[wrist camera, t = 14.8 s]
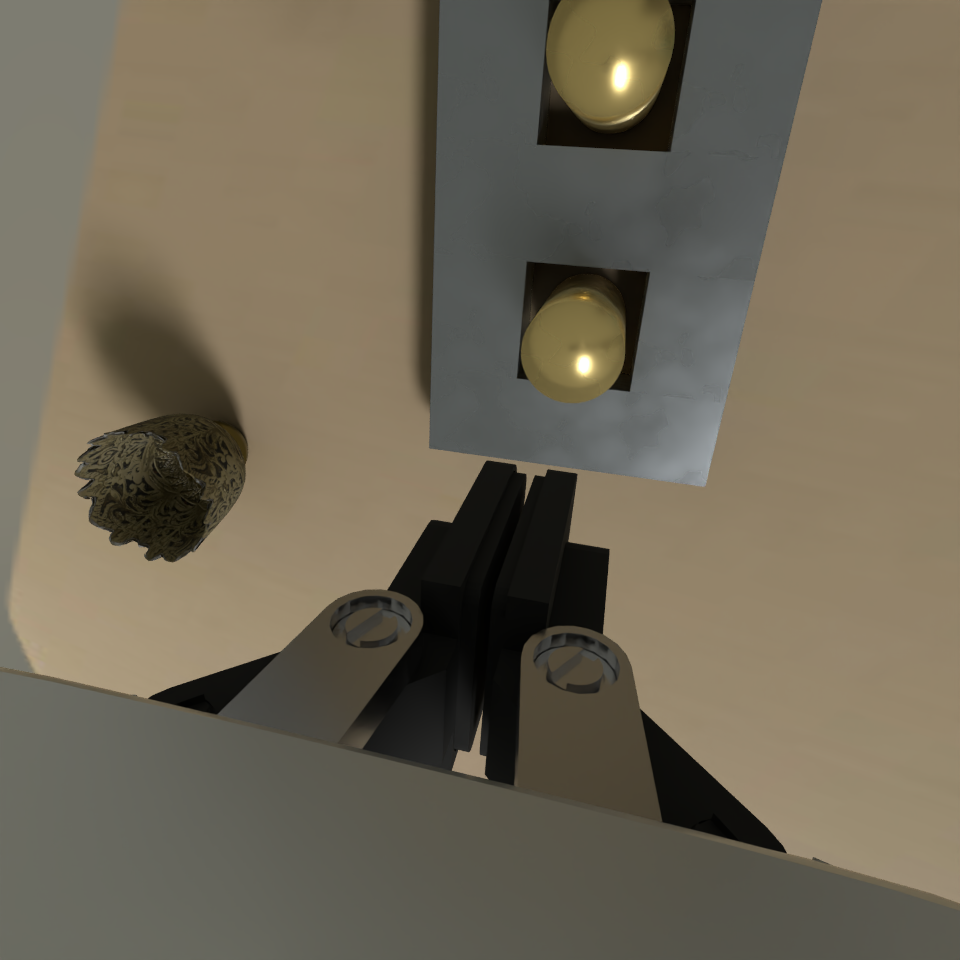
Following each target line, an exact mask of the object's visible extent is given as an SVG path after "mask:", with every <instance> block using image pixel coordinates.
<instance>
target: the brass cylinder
mask: <svg viewBox="0 0 960 960" xmlns="http://www.w3.org/2000/svg"><path fill="white" fill-rule="evenodd" d="M625 330H626V308H625V303H624V300H623V297H622V295H621V293H620V291H619V290H618V288H617V287H616V286H615V285H614V284H613V283H612V282H610V281H609V280H607V279H606V278H604V277H602V276H599V275H595V274H578V275H574V276H572V277H569V278H567V279H566V280H564V281H563V282H561V283H560V284H559V285H558V286H557V287H556V288H555V289H554V290H553V292H552V293H551V295H550V296H549V297H548V299H547V300H546V302H545V303H544V304H543V306H542V307H541V309H540V310H539V312H538V313H537V314H536V316H535V317H534V319H533V320H532V322H531V323H530V325H529V326H528V328H527V330H526V332H525V334H524V337H523V340H522V346H521V360H522V365H523V369H524V371H525V374H526V376H527V377H528V379H529V381H530V382H531V383H532V385H533V386H534V387H535V388H536V389H537V390H538V391H539V392H541V393H542V394H543V395H545V396H547V397H548V398H551V399H553V400H556V401H559V402H563V403H581V402H586V401H589V400H592V399H594V398H596V397H598V396H600V395H602V394H603V393H604V392H606V391H607V390H608V389H609V388H610V387H611V386H612V385H613V384H614V382H615V381H616V380H617V378H618V376H619V374H620V372H621V370H622V367H623V363H624V358H625Z"/></svg>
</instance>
